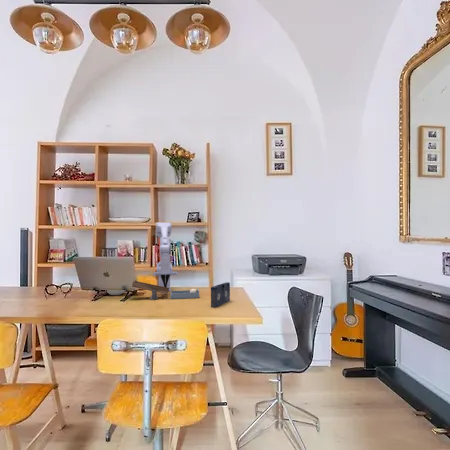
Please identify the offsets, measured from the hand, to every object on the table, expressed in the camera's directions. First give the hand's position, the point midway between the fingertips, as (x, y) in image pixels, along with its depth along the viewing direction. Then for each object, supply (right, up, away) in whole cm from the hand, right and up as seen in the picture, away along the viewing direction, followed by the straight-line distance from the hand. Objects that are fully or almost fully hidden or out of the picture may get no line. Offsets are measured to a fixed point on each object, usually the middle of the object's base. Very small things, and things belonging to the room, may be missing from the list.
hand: (165, 287), depth 204 cm
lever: (-7, +1, -7) cm, 10 cm away
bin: (+12, -4, -8) cm, 15 cm away
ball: (+17, -1, -7) cm, 19 cm away
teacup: (-32, -5, +2) cm, 32 cm away
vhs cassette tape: (+33, -4, -26) cm, 42 cm away
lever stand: (-5, -4, -10) cm, 12 cm away
